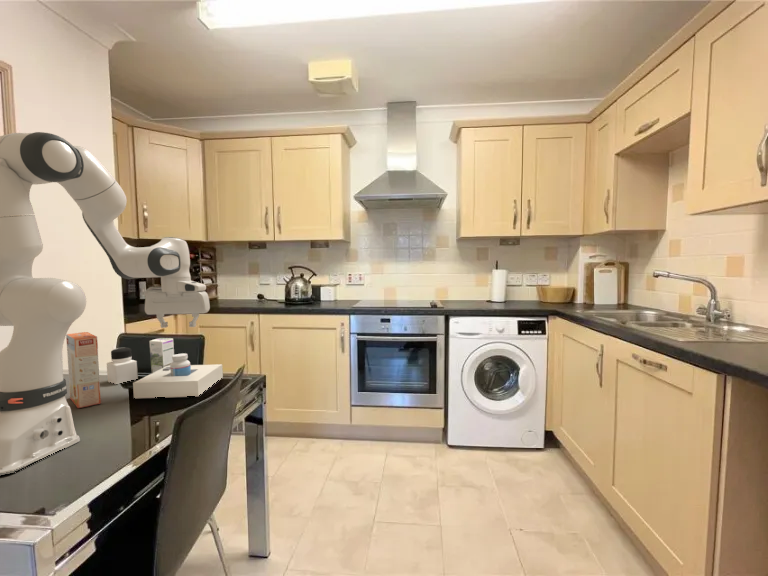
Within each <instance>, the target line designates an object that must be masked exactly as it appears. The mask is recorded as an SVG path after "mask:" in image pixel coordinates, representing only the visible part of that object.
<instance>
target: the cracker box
mask: <svg viewBox="0 0 768 576" xmlns="http://www.w3.org/2000/svg"><path fill="white" fill-rule="evenodd" d="M65 339H66V350H67V351H66V353H67V354H66V355H67V365H68V366H67V368H68V369H67V370H68V386H69V399H70V400H71V402H72V403H73V404H74V405H75V406H76V408H77V409H83V408H87V407H92V406H97V405H101V384H100V366H99V365H100V364H99V346H98V336H96V335H94V334H92V333H91V332H88V331H83V332H82V331H81V332H74V333H67V334H66V336H65Z"/></svg>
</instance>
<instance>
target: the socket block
mask: <svg viewBox="0 0 768 576" xmlns="http://www.w3.org/2000/svg"><path fill="white" fill-rule="evenodd" d="M190 366H191V374H190V375H188V376H171V370H170V366H166V367H164V368H162V369H160V370H158V371H156V372H154V373H152V372H151V373H150V374H148V375H146V376H144V377H142V378H140V379H138V380H135V381H133V382H132V389H133V390H132V391H133V399H134V398H135V399H158V398H157V397H165V398H188V397H187V396H195V397H200V396H201V395H202V394H204V393H205V392H206V391H207V390H209V389H210V388H211V387H213V386H214V385H215V384H217V383H218V382H219V381H220V380H222V379H223V378H224V374H223V373H224V371H223V364H222V363H221V364H216V363H215V364H190ZM221 378H222V379H221ZM218 380H219V381H218ZM217 381H218V382H217ZM216 382H217V383H216ZM214 383H215V384H214ZM213 384H214V385H213ZM212 385H213V386H212ZM209 387H210V388H209ZM208 388H209V389H208ZM205 390H206V391H205ZM204 391H205V392H204ZM203 392H204V393H203ZM200 394H201V395H200ZM199 395H200V396H199ZM155 397H156V398H155Z"/></svg>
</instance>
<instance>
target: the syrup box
mask: <svg viewBox="0 0 768 576" xmlns="http://www.w3.org/2000/svg"><path fill="white" fill-rule="evenodd" d="M148 342H149V354H150V355H149V356H150V368H151V369H150V370H151V371H150V372H151V374H152V373H154V372H156V371H158V370H160V369H162V368H164V367H166V366H170V365H171V363H172V362H173V360H172V356H173V355H175V349H174V345H175V343H174V338H171V337H169V338H168V337H166V338H165V337H159V338H158V337H157V338H155V339H152V340H149V341H148Z"/></svg>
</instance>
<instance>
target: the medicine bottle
mask: <svg viewBox="0 0 768 576" xmlns="http://www.w3.org/2000/svg"><path fill="white" fill-rule="evenodd" d="M110 356H111V361H109V362H107V363H106V373H107V377H106V378H107V382H108V383H110V382H111V383H110V384H113V383H114V384H113V385H116V384H118V385H120V384H119V383H122V384H124V383H123V382H126V383H128V382H127V381H130V382H132V381H131V380H134V381H137V380H136V379H138V380H139V373H138V370H139V369H138V361H137V360H134V359H132V348H130V347H118V348H114V349H112V350H111V351H110Z"/></svg>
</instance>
